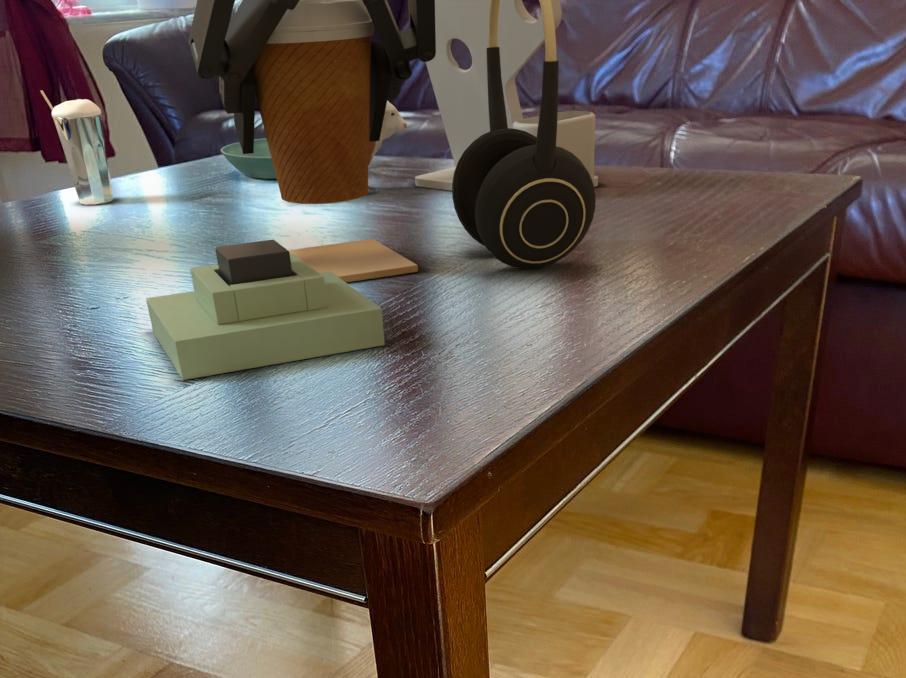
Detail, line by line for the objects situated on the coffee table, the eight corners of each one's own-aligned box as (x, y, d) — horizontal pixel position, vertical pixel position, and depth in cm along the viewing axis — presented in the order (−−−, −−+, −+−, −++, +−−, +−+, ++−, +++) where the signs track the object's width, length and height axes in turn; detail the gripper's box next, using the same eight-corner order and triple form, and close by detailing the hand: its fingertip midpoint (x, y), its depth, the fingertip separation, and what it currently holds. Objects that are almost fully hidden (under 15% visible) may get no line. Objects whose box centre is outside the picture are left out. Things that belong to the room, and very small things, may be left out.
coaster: (251, 261, 79) (250, 255, 79) (373, 245, 82) (372, 238, 82) (285, 291, 71) (284, 284, 71) (418, 271, 75) (417, 264, 74)
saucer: (248, 189, 105) (244, 161, 104) (208, 170, 116) (203, 144, 115) (378, 171, 111) (376, 145, 109) (328, 155, 122) (325, 130, 120)
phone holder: (606, 184, 100) (613, -35, 90) (543, 202, 94) (543, -31, 84) (473, 169, 110) (466, -30, 100) (408, 185, 104) (393, -26, 94)
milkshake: (78, 197, 105) (52, 87, 99) (127, 196, 104) (104, 86, 99) (57, 206, 101) (29, 93, 96) (108, 206, 100) (82, 91, 95)
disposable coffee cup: (277, 215, 69) (247, 7, 62) (246, 193, 76) (216, 4, 70) (409, 198, 72) (394, -2, 65) (366, 179, 79) (349, -3, 73)
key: (219, 277, 61) (214, 246, 60) (278, 268, 63) (273, 238, 62) (233, 290, 59) (228, 259, 58) (293, 282, 60) (289, 251, 59)
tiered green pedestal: (153, 333, 64) (139, 268, 62) (334, 304, 68) (327, 242, 66) (182, 380, 57) (167, 308, 55) (385, 345, 61) (379, 276, 58)
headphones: (492, 290, 70) (482, -65, 59) (444, 243, 82) (429, -58, 71) (610, 277, 71) (622, -70, 60) (547, 233, 83) (547, -63, 72)
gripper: (143, -109, 49) (170, 192, 71) (546, -118, 56) (459, 161, 77) (108, -233, 51) (145, 99, 72) (506, -229, 57) (432, 76, 78)
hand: (307, 131), depth 74 cm, fingers closed on disposable coffee cup, 9 cm apart
